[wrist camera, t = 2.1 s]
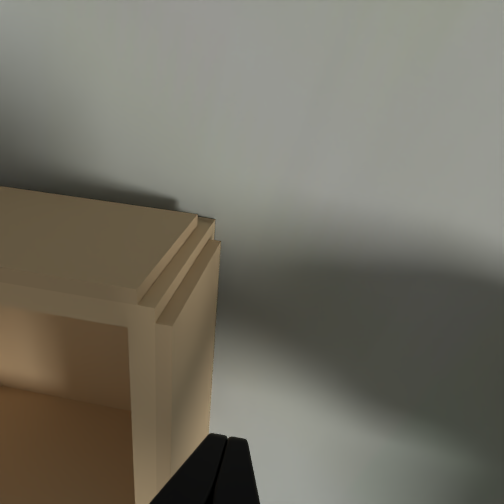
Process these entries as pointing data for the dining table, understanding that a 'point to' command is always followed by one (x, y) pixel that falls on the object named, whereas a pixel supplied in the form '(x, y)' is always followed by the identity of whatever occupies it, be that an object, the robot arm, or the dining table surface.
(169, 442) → the carton
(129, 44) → the dining table surface
